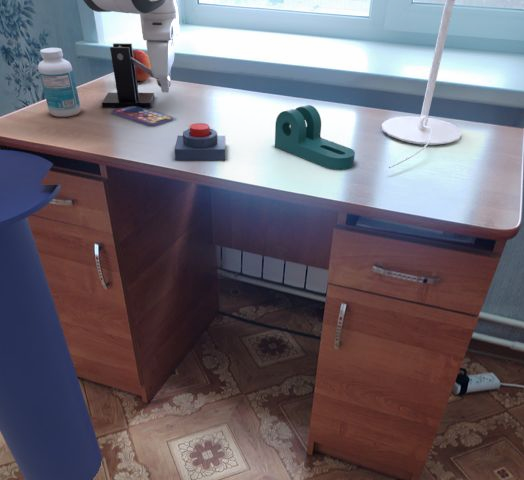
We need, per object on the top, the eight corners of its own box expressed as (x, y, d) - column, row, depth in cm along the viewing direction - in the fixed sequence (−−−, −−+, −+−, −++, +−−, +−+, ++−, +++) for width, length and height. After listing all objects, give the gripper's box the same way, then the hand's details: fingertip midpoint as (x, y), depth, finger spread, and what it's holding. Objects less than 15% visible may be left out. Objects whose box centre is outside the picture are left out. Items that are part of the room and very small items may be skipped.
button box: (175, 160, 102) (173, 140, 99) (178, 146, 108) (176, 126, 105) (225, 160, 102) (224, 140, 99) (225, 146, 108) (224, 126, 105)
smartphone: (134, 108, 128) (175, 121, 121) (110, 114, 124) (152, 128, 117) (134, 104, 127) (175, 117, 120) (110, 110, 123) (151, 124, 116)
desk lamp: (381, 116, 125) (423, -134, 95) (456, 122, 123) (523, -133, 93) (378, 175, 98) (435, -151, 68) (474, 184, 95) (577, -149, 66)
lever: (167, 88, 130) (173, 76, 128) (166, 92, 127) (172, 80, 125) (115, 55, 124) (120, 42, 122) (112, 58, 122) (118, 45, 120)
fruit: (120, 81, 145) (115, 49, 140) (141, 76, 150) (137, 45, 144) (138, 86, 141) (134, 54, 136) (159, 80, 146) (156, 49, 141)
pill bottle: (61, 107, 126) (47, 45, 117) (87, 110, 124) (74, 47, 115) (43, 115, 121) (26, 51, 112) (69, 119, 119) (55, 54, 110)
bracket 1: (154, 97, 134) (148, 42, 125) (150, 108, 127) (143, 50, 118) (108, 97, 133) (99, 41, 124) (102, 107, 126) (91, 49, 118)
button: (189, 138, 101) (189, 129, 100) (190, 131, 104) (190, 122, 103) (209, 138, 101) (209, 129, 100) (210, 131, 104) (209, 122, 103)
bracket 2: (274, 146, 108) (276, 107, 103) (296, 139, 112) (299, 101, 107) (338, 172, 99) (343, 130, 93) (360, 163, 102) (366, 123, 97)
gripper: (151, 17, 127) (158, 78, 136) (141, 33, 111) (149, 100, 121) (177, 18, 127) (181, 78, 136) (169, 33, 112) (175, 100, 121)
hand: (166, 89), depth 128 cm, fingers closed on lever, 3 cm apart
